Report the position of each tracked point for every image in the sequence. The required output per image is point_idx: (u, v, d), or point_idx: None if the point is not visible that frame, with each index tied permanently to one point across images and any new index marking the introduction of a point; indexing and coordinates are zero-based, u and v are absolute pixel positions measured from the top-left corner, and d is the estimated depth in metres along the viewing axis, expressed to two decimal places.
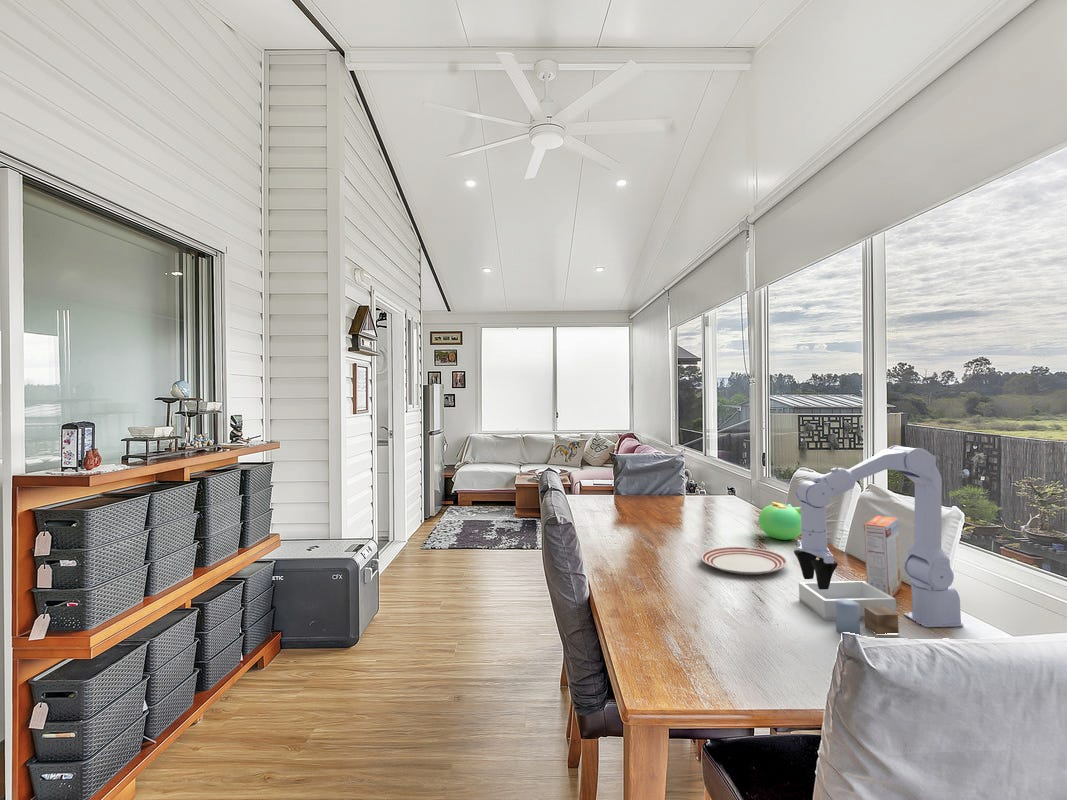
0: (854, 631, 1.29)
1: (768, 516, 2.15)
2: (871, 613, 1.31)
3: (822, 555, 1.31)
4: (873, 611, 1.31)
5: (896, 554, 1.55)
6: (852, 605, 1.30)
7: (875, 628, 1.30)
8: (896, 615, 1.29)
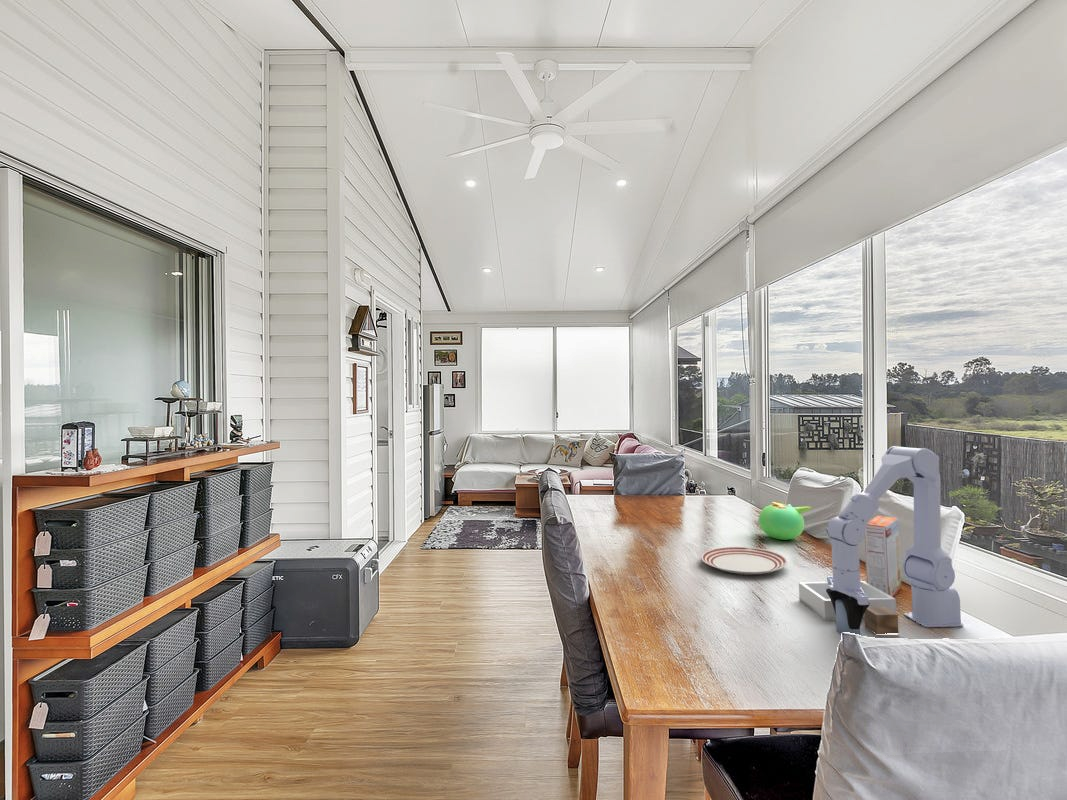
0: (854, 631, 1.29)
1: (768, 516, 2.15)
2: (871, 613, 1.31)
3: (856, 596, 1.26)
4: (873, 611, 1.31)
5: (896, 554, 1.55)
6: None
7: (875, 628, 1.30)
8: (896, 615, 1.29)
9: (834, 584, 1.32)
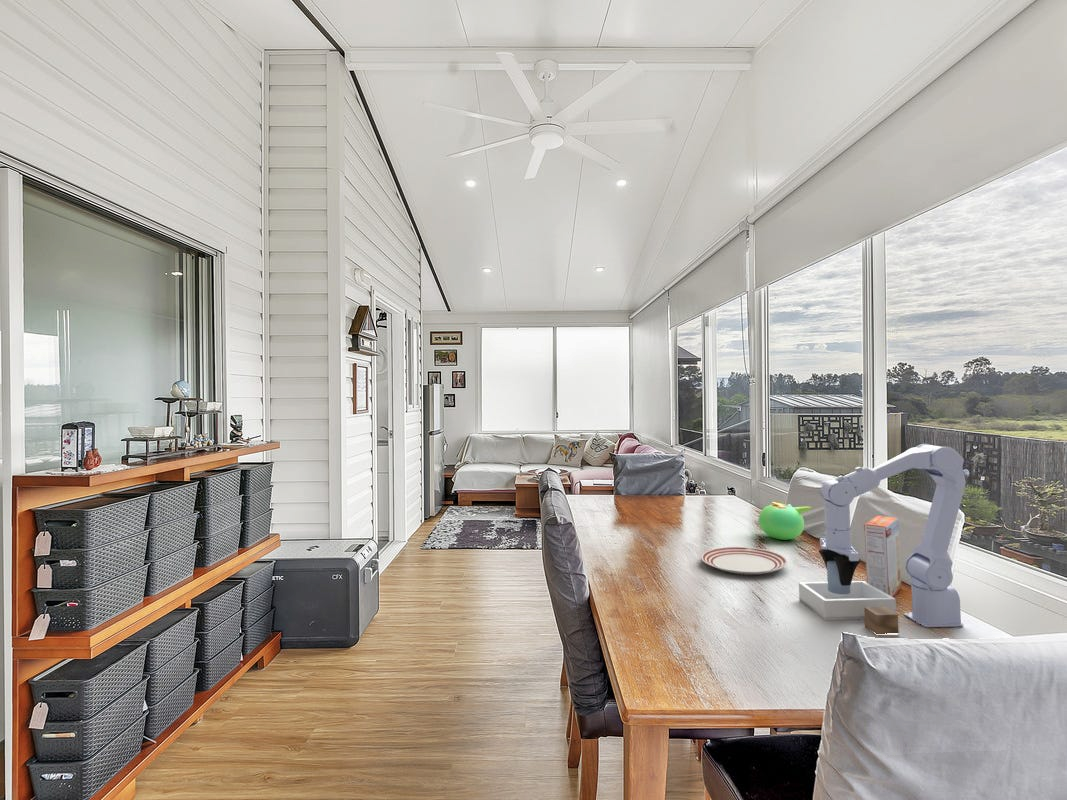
0: (845, 589, 1.36)
1: (768, 516, 2.15)
2: (871, 613, 1.31)
3: (847, 553, 1.33)
4: (873, 611, 1.31)
5: (896, 554, 1.55)
6: None
7: (875, 628, 1.30)
8: (896, 615, 1.29)
9: (826, 544, 1.39)
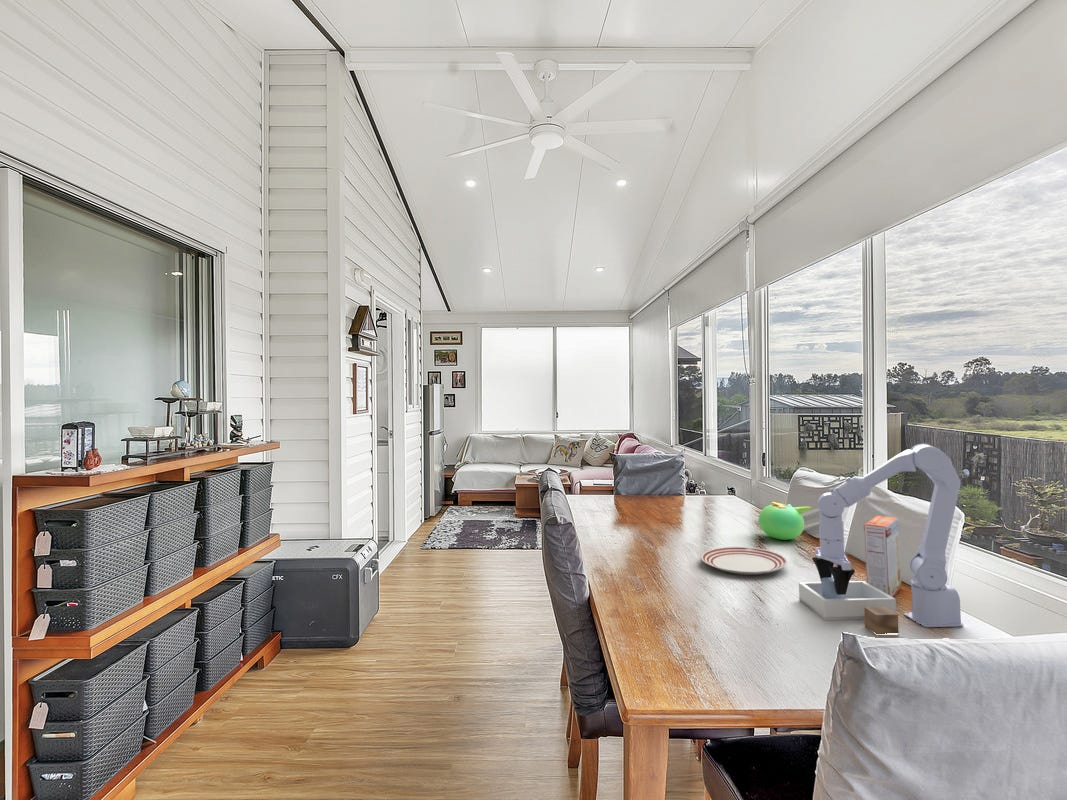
0: None
1: (768, 516, 2.15)
2: (871, 613, 1.31)
3: (840, 562, 1.40)
4: (873, 611, 1.31)
5: (896, 554, 1.55)
6: None
7: (875, 628, 1.30)
8: (896, 615, 1.29)
9: (821, 553, 1.46)
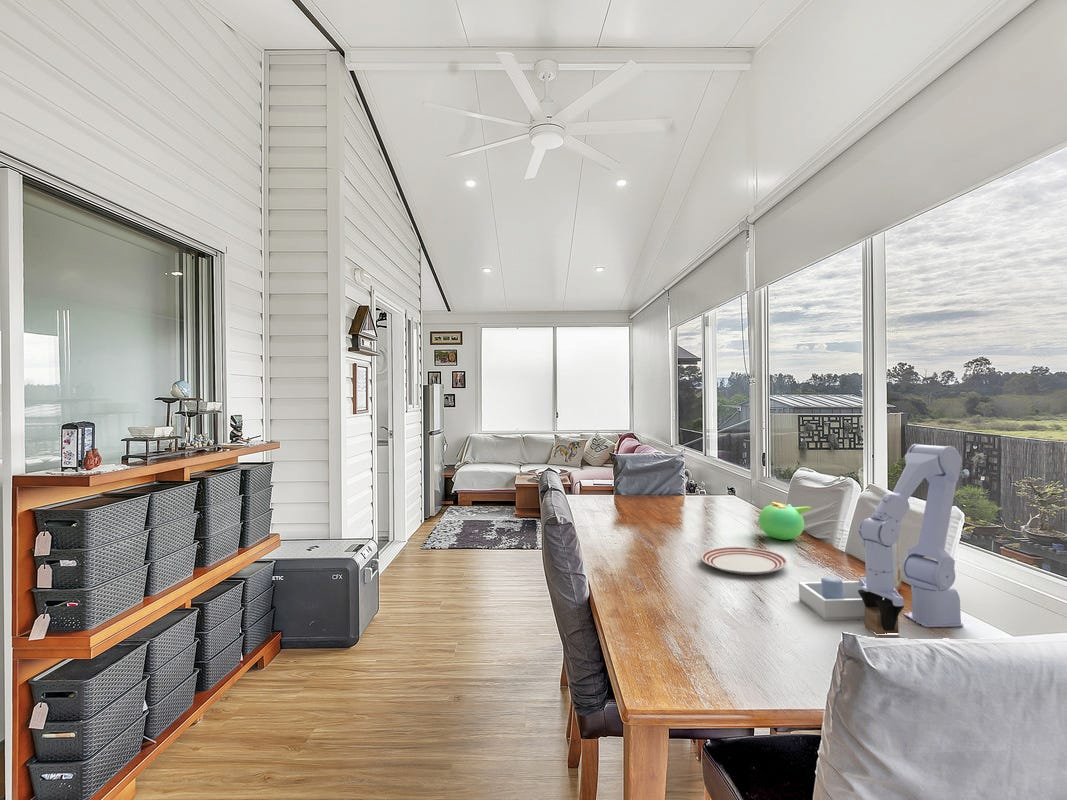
0: None
1: (768, 516, 2.15)
2: (871, 613, 1.31)
3: (891, 597, 1.25)
4: (873, 611, 1.31)
5: (896, 554, 1.55)
6: (836, 582, 1.44)
7: (875, 628, 1.30)
8: None
9: (867, 585, 1.32)
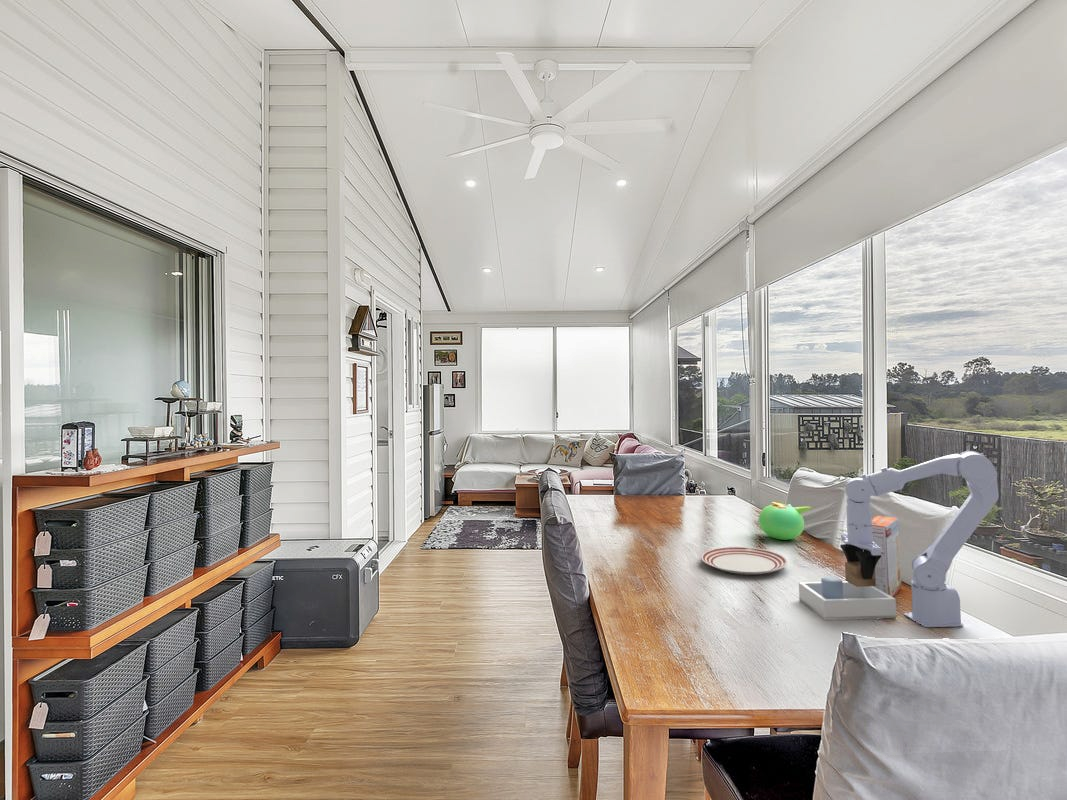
0: None
1: (768, 516, 2.15)
2: (851, 567, 1.44)
3: (869, 548, 1.38)
4: (853, 565, 1.44)
5: (896, 554, 1.55)
6: (836, 582, 1.44)
7: (855, 579, 1.42)
8: None
9: (848, 539, 1.44)
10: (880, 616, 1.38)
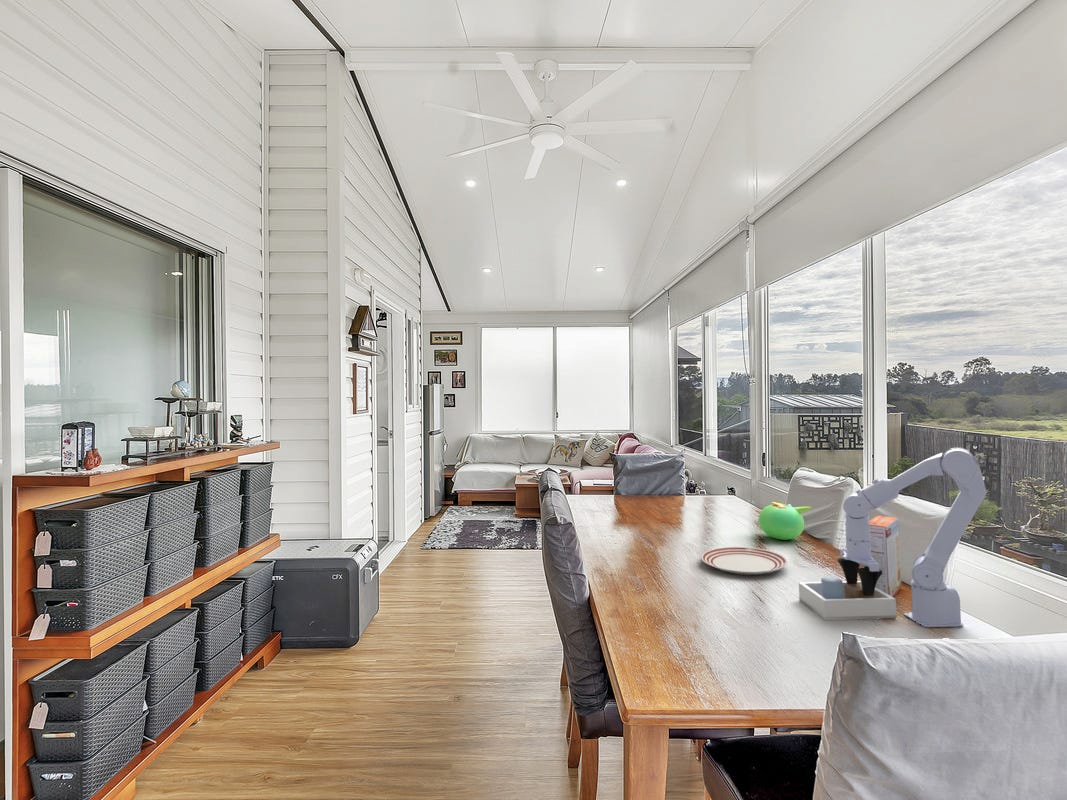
0: None
1: (768, 516, 2.15)
2: (850, 589, 1.45)
3: (868, 564, 1.39)
4: (852, 587, 1.45)
5: (896, 554, 1.55)
6: (836, 582, 1.44)
7: None
8: None
9: (847, 554, 1.46)
10: (880, 616, 1.38)
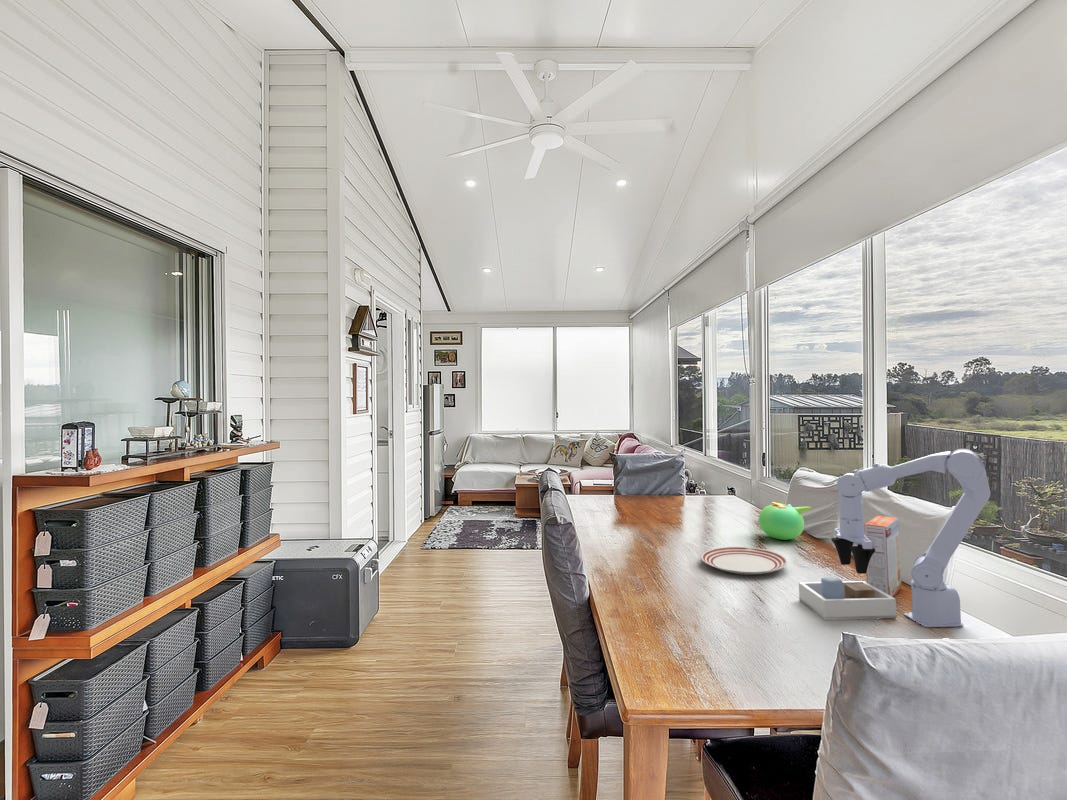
0: None
1: (768, 516, 2.15)
2: (850, 589, 1.45)
3: (861, 541, 1.40)
4: (852, 587, 1.45)
5: (896, 554, 1.55)
6: (836, 582, 1.44)
7: None
8: (873, 590, 1.43)
9: (841, 533, 1.47)
10: (880, 616, 1.38)
